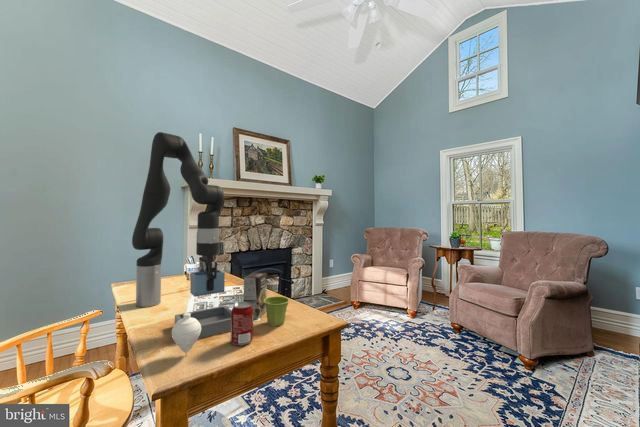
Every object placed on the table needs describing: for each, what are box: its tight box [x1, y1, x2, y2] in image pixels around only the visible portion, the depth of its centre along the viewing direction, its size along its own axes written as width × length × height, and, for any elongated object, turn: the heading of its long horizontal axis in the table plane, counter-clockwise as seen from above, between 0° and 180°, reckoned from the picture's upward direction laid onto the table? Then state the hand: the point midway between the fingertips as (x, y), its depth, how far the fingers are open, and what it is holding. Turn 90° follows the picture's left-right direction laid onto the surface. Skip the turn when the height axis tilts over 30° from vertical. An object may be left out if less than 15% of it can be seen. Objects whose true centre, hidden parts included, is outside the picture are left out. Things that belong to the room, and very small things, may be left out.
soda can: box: [230, 301, 254, 347], centre depth 88 cm, size 7×7×12 cm
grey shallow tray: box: [174, 305, 232, 340], centre depth 98 cm, size 15×18×4 cm
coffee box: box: [242, 272, 268, 321], centre depth 111 cm, size 9×6×16 cm
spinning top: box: [171, 312, 201, 357], centre depth 79 cm, size 8×8×12 cm
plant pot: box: [264, 295, 290, 327], centre depth 103 cm, size 9×9×9 cm
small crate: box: [189, 269, 226, 298], centre depth 98 cm, size 6×10×7 cm, turn 127°
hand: (207, 288), depth 98 cm, fingers closed on small crate, 6 cm apart
